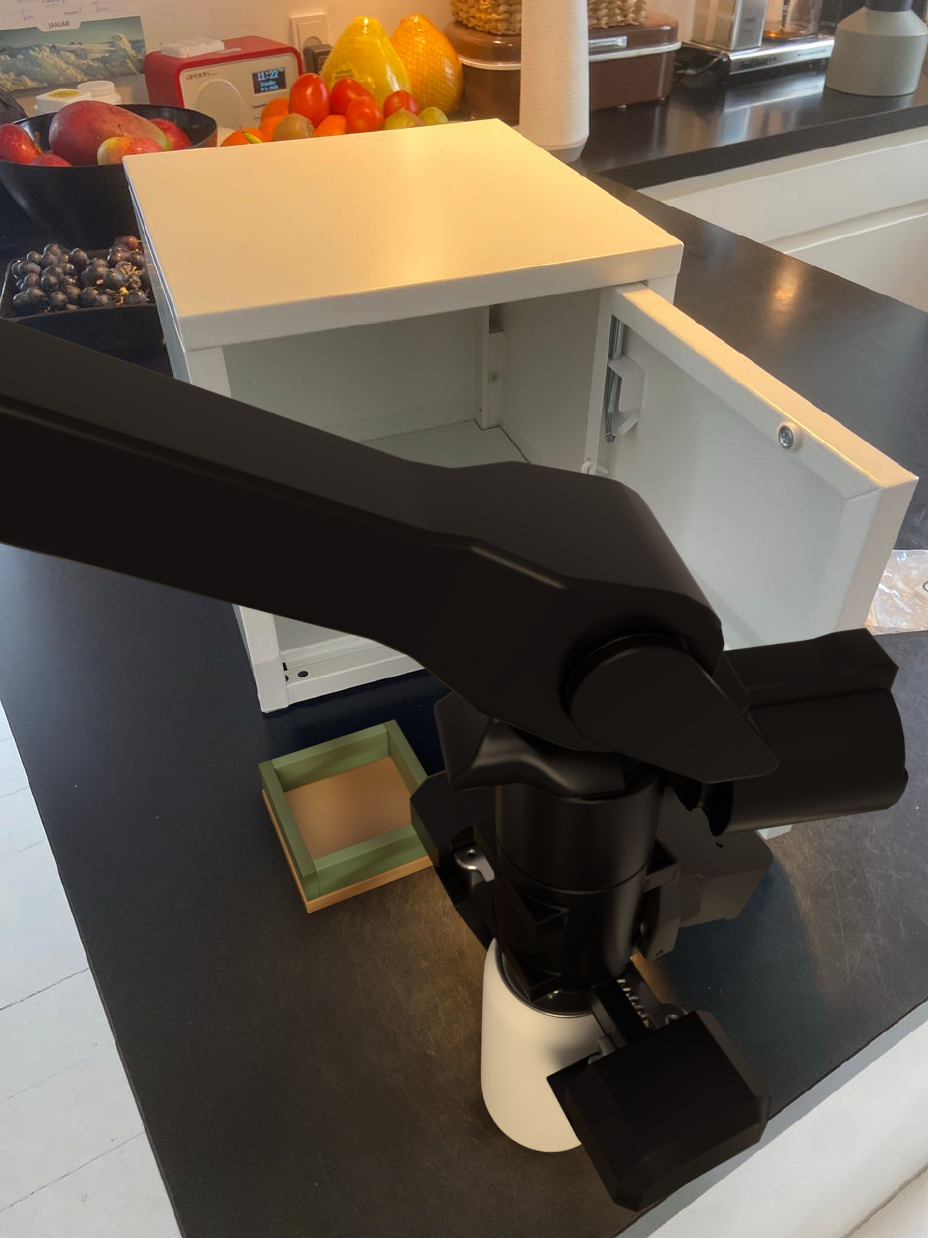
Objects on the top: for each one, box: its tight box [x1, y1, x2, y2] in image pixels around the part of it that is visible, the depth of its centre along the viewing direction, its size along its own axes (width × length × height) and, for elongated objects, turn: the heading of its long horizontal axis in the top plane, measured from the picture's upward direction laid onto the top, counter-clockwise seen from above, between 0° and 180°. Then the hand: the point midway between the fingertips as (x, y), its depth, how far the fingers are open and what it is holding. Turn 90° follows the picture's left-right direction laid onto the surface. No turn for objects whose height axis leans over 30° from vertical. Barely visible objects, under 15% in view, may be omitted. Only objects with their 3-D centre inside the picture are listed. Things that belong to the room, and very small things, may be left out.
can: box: [480, 938, 635, 1153], centre depth 41 cm, size 6×6×12 cm
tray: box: [257, 719, 434, 914], centre depth 56 cm, size 9×9×4 cm
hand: (553, 1038), depth 42 cm, fingers closed on can, 7 cm apart
